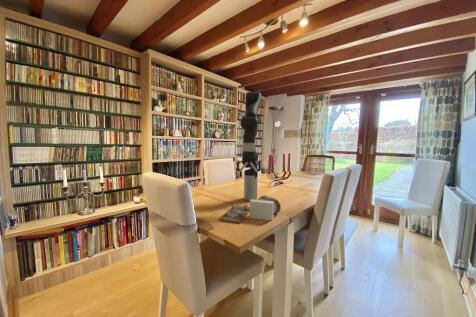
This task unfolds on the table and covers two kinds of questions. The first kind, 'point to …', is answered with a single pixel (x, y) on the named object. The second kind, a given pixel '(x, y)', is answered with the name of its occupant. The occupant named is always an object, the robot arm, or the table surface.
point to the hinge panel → (235, 214)
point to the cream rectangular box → (261, 209)
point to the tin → (276, 202)
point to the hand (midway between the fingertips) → (248, 178)
